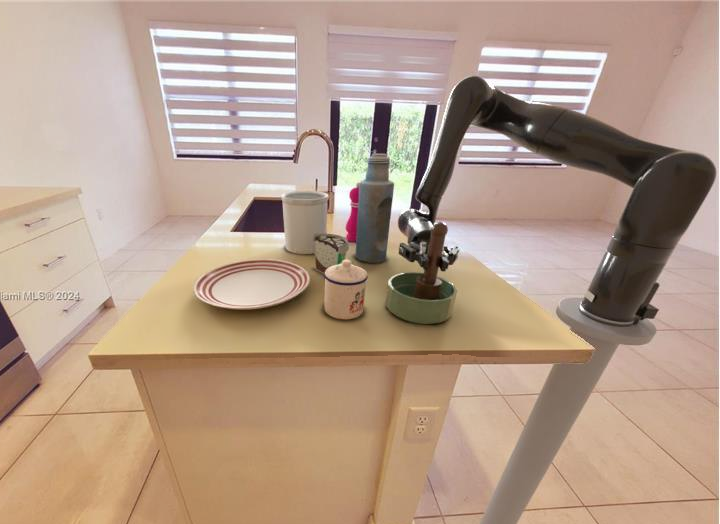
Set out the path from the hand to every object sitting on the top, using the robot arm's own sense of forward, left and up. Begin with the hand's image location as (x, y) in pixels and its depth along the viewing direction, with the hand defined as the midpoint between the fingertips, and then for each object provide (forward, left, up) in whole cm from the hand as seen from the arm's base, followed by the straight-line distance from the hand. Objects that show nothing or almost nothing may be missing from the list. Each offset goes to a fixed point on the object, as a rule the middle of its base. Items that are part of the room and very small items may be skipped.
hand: (435, 266), depth 63 cm
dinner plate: (+40, -4, -12) cm, 42 cm away
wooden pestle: (0, -3, -9) cm, 10 cm away
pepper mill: (+18, -51, -12) cm, 56 cm away
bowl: (+1, -2, -12) cm, 12 cm away
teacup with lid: (+17, 0, -12) cm, 21 cm away
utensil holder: (+34, -38, -12) cm, 53 cm away
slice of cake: (+22, -19, -12) cm, 32 cm away
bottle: (+12, -33, -12) cm, 38 cm away
